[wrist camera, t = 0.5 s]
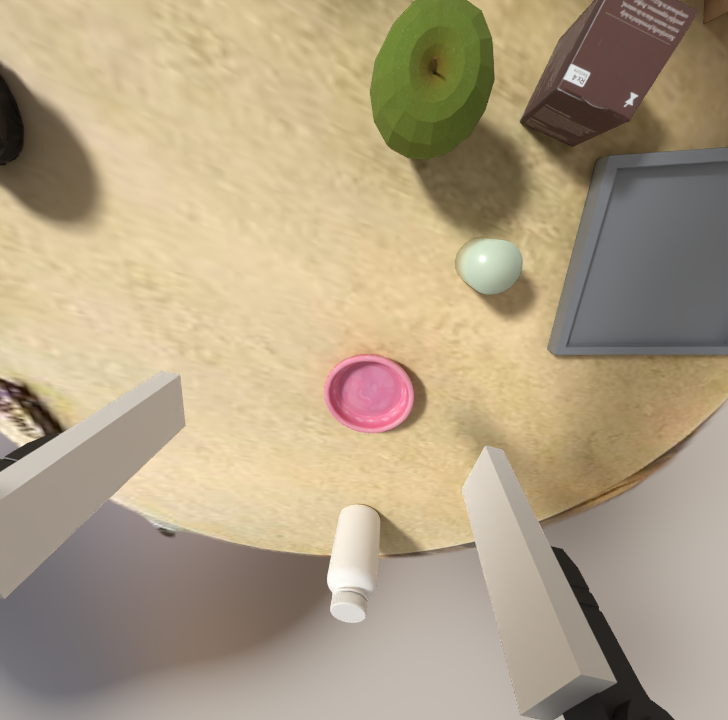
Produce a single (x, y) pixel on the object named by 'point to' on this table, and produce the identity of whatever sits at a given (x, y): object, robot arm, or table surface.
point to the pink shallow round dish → (369, 393)
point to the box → (605, 67)
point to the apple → (432, 77)
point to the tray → (649, 259)
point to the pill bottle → (354, 562)
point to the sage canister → (489, 264)
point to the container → (9, 126)
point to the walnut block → (714, 9)
